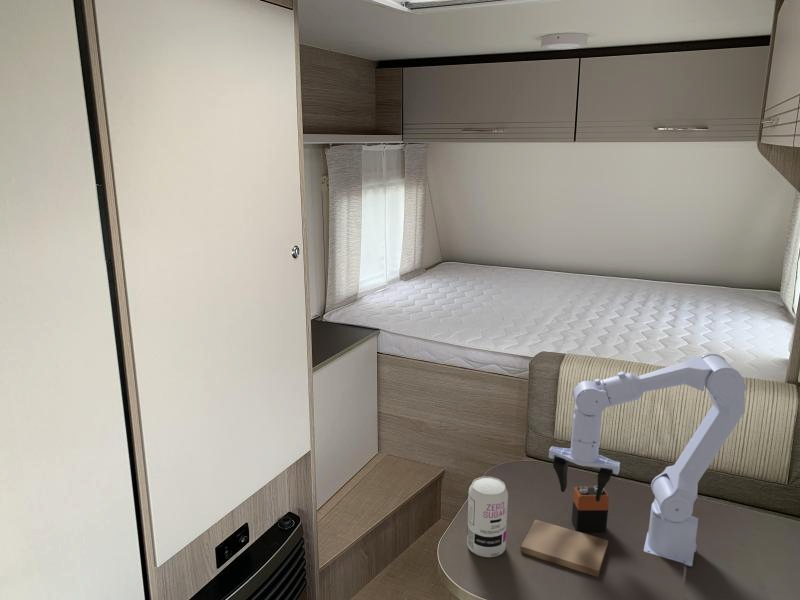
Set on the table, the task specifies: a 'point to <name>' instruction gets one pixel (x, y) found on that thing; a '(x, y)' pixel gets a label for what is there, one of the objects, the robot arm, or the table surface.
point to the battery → (589, 510)
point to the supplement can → (487, 517)
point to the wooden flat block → (565, 547)
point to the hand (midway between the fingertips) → (580, 494)
